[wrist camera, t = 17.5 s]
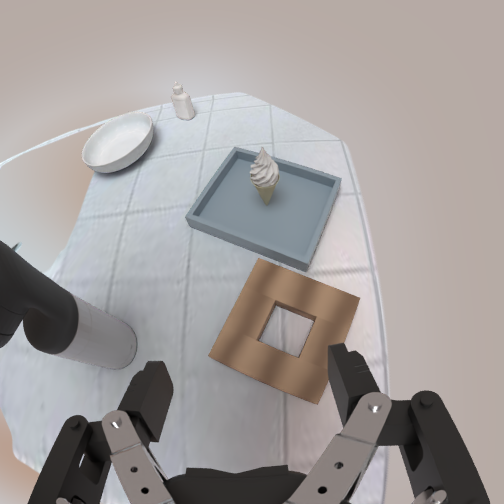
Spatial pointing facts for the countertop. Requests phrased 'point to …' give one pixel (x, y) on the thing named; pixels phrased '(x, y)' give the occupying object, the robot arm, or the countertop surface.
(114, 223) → the countertop surface
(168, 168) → the countertop surface
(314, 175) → the slate blue tray
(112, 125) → the serving bowl
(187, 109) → the eye dropper bottle
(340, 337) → the walnut board
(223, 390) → the countertop surface
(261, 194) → the ice cream cone
